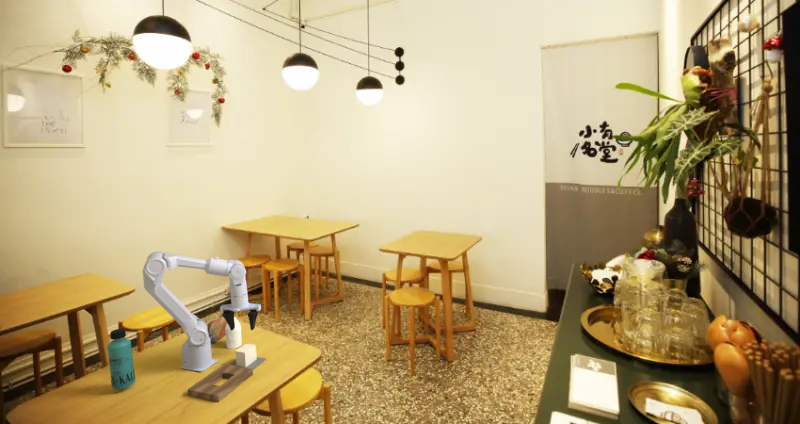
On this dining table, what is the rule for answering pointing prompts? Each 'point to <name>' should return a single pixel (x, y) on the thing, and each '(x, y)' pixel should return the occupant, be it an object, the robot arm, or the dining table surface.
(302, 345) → the dining table surface
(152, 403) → the dining table surface
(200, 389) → the block
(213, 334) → the tin
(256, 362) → the mat
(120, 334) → the beverage bottle
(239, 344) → the roll
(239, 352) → the plug
